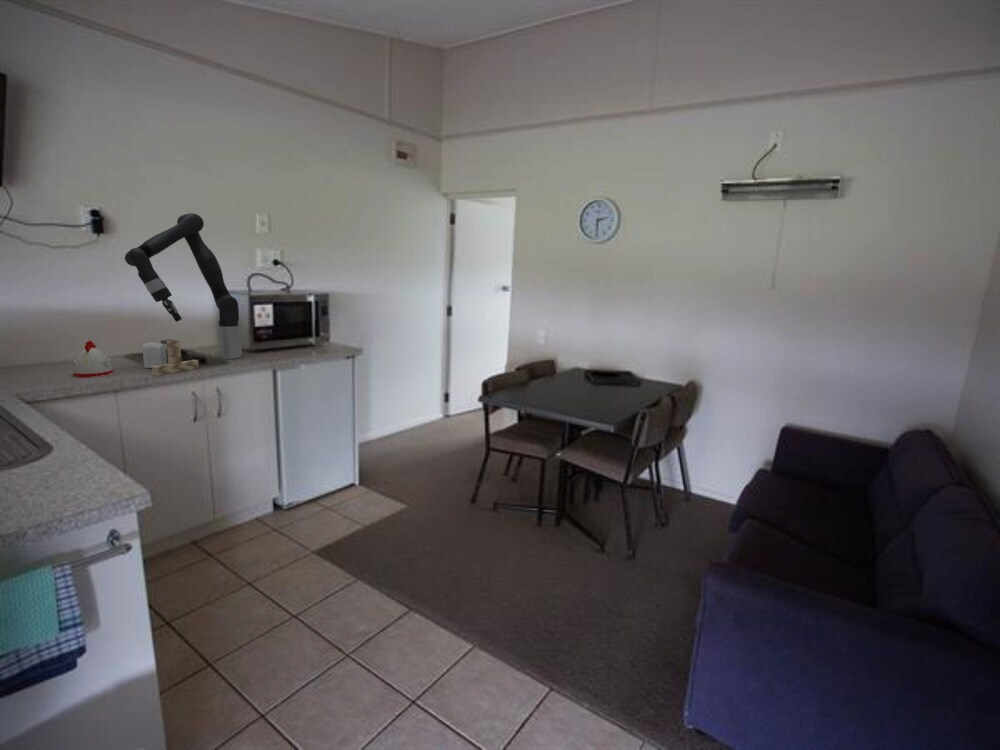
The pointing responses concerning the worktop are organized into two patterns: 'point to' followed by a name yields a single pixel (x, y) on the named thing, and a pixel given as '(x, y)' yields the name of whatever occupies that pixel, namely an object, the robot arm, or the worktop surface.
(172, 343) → the retention stand
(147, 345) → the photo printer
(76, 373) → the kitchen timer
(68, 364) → the worktop surface
